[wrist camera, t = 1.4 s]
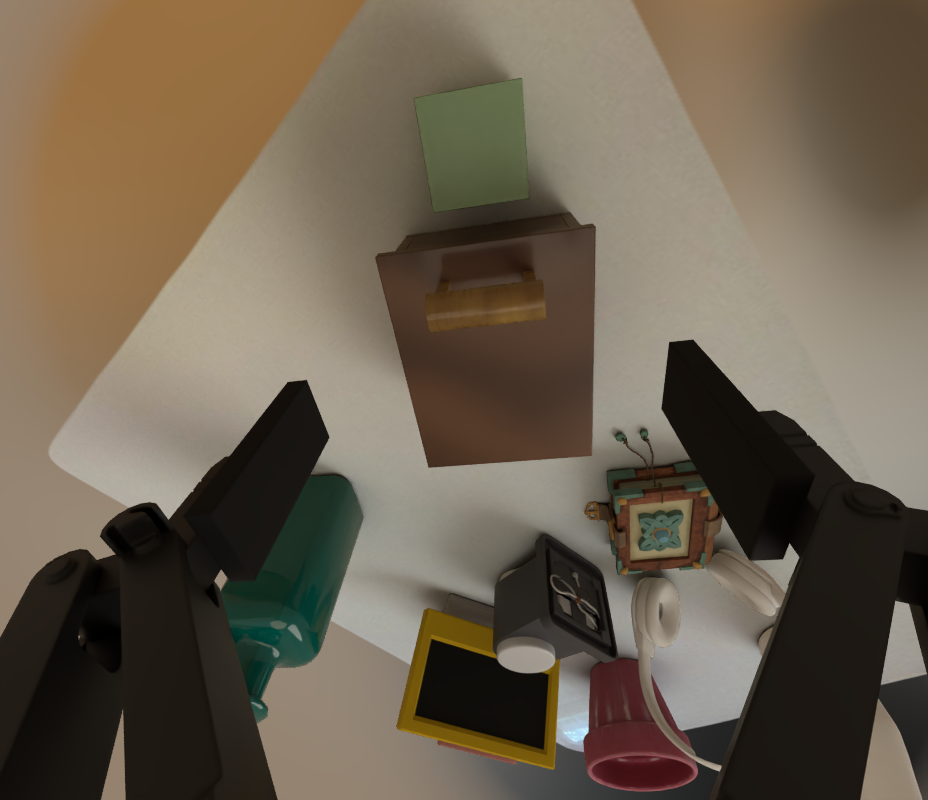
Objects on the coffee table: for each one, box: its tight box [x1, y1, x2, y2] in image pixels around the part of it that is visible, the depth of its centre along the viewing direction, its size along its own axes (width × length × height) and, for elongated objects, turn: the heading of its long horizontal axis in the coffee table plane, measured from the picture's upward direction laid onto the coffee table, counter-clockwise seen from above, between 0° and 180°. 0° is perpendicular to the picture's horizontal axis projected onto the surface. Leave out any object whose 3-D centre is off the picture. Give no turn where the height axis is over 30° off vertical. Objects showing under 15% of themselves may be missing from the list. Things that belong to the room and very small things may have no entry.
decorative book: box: [585, 430, 723, 575], centre depth 45 cm, size 13×18×5 cm
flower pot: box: [583, 658, 698, 791], centre depth 63 cm, size 14×14×13 cm
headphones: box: [631, 549, 786, 771], centre depth 45 cm, size 7×18×20 cm, turn 129°
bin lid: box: [375, 224, 596, 468], centre depth 27 cm, size 16×13×6 cm
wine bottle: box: [759, 626, 922, 800], centre depth 48 cm, size 10×10×30 cm
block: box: [414, 78, 529, 213], centre depth 28 cm, size 6×6×6 cm
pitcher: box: [220, 475, 363, 723], centre depth 42 cm, size 10×8×22 cm
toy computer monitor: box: [397, 594, 560, 769], centre depth 56 cm, size 20×8×16 cm, turn 65°
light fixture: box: [493, 535, 618, 673], centre depth 52 cm, size 11×13×11 cm
